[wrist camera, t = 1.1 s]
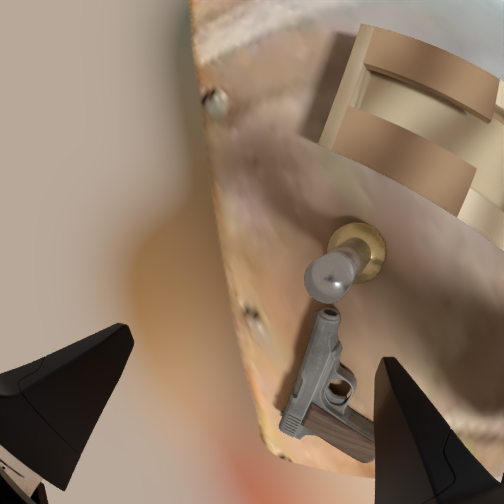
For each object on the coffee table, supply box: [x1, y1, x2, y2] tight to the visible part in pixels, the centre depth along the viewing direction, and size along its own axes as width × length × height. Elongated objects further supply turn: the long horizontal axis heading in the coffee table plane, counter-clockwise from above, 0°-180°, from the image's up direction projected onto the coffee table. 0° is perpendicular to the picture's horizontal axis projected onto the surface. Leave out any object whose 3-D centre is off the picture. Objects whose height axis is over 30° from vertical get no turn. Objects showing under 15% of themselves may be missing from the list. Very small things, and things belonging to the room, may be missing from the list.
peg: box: [304, 222, 386, 304], centre depth 17 cm, size 4×4×8 cm
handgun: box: [279, 307, 375, 463], centre depth 21 cm, size 3×16×12 cm
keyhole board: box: [318, 24, 504, 251], centre depth 12 cm, size 17×10×3 cm, turn 68°
